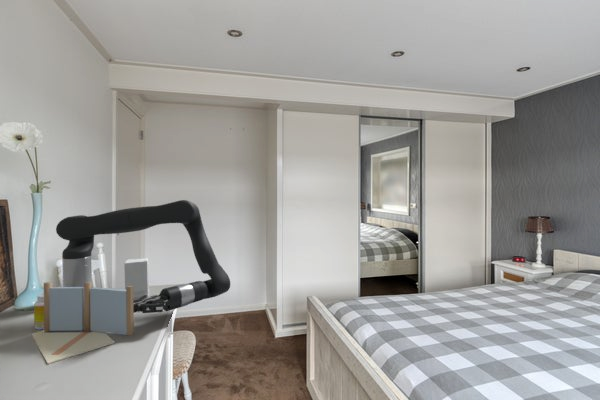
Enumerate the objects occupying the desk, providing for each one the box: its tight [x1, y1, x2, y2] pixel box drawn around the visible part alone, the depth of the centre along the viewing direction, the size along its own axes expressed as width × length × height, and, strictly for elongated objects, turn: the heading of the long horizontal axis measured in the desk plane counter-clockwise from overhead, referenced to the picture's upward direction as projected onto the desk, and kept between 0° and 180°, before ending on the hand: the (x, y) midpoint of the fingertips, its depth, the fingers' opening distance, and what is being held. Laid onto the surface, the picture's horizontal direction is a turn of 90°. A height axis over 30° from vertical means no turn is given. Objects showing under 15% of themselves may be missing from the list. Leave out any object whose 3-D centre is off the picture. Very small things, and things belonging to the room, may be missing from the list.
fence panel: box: [90, 286, 134, 336], centre depth 94 cm, size 14×1×14 cm, turn 80°
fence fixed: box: [43, 281, 93, 333], centre depth 95 cm, size 14×2×15 cm, turn 94°
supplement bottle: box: [33, 292, 44, 330], centre depth 99 cm, size 6×6×10 cm
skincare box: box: [123, 257, 150, 302], centre depth 125 cm, size 8×7×16 cm
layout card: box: [31, 329, 115, 365], centre depth 91 cm, size 23×15×1 cm, turn 48°
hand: (123, 311), depth 94 cm, fingers closed
